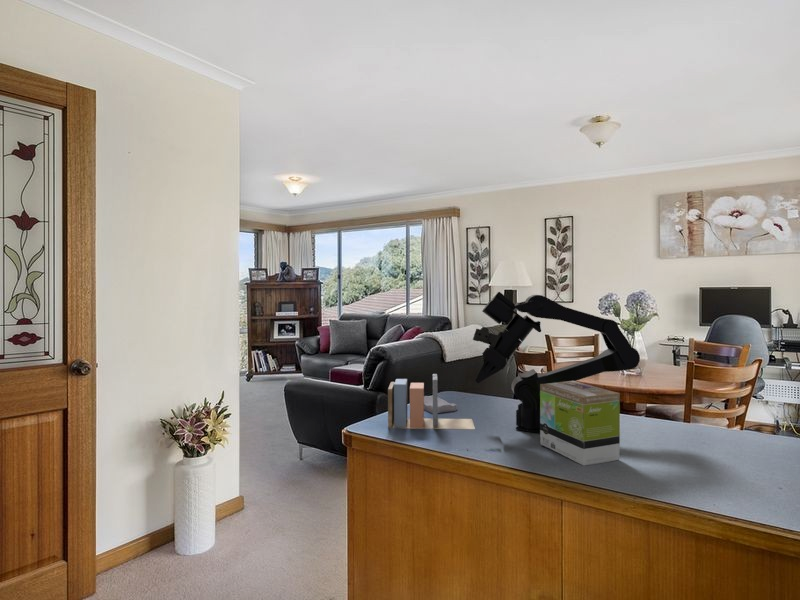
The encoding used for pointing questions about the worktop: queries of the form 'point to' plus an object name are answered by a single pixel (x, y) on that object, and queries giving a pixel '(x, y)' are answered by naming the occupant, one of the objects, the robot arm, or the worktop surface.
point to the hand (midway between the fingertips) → (476, 382)
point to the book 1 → (400, 403)
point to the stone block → (442, 405)
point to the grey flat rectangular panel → (435, 401)
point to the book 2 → (417, 405)
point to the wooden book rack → (427, 422)
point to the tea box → (580, 421)
